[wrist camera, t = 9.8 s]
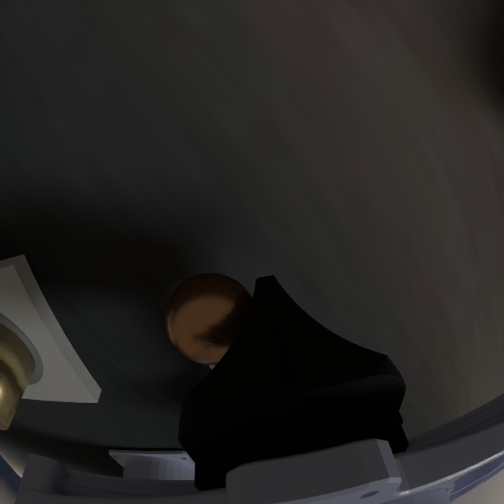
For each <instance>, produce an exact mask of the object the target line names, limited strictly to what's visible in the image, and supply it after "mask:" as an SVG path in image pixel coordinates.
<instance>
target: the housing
mask: <svg viewBox="0 0 504 504" xmlns="http://www.w3.org/2000/svg"><path fill="white" fill-rule="evenodd" d="M35 368H36V364H35V360H34V357H33V355H32V353H31V351H30V350H29V348H28V347H27V345H26V344H25V343H24V342H23V341H22V340H21V338H20V337H19V336H18V335H17V334H15V333H14V332H13V331H12V330H11V329H9V328H8V327H6V326H5V325H3V324H1V323H0V430H7V429H8V428H9V426H10V423H11V421H12V419H13V416H14V414H15V412H16V409H17V407H18V405H19V403H20V400H21V398H22V396H23V394H24V392H25V390H26V388H27V385H28V383H29V381H30V379H31V377H32V375H33V373H34V371H35Z"/></svg>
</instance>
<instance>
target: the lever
mask: <svg viewBox="0 0 504 504" xmlns="http://www.w3.org/2000/svg"><path fill="white" fill-rule="evenodd" d="M251 301H252V297H251V295H250V293H249V292H248V291H247V290H246V289H245V287H244V286H243V285H242V284H240V283H239V282H238V281H236V280H235V279H233V278H231V277H229V276H226V275H223V274H219V273H202V274H198V275H195V276H192V277H190V278H188V279H186V280H185V281H184V282H182V283H181V284H180V285H179V286H178V287H177V288H176V289H175V290H174V291H173V293H172V294H171V296H170V298H169V300H168V303H167V306H166V310H165V327H166V331H167V334H168V337H169V339H170V341H171V343H172V344H173V346H174V347H175V348H176V349H177V350H178V351H179V353H181V354H182V355H183V356H184V357H186V358H188V359H189V360H191V361H193V362H196V363H199V364H203V365H209V366H210V368H211V370H212V369H213V368H214V366H215V365H216V364H217V363H218V362H219V361H220V359H221V358H222V357H223V356H224V354H225V353H226V351H227V350H228V348H229V347H230V345H231V344H232V342H233V341H234V339H235V337H236V336H237V334H238V332H239V330H240V328H241V326H242V324H243V322H244V320H245V317H246V315H247V313H248V310H249V307H250V304H251Z"/></svg>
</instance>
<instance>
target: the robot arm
mask: <svg viewBox="0 0 504 504" xmlns="http://www.w3.org/2000/svg"><path fill="white" fill-rule="evenodd" d="M405 390H406V385H405V382H404V380H403V378H402V376H401V374H400V372H399V371H398V369H397V368H396V367H395V365H394V364H393V363H392V361H391V360H390V359H389V357H388V356H387V355H384V354H381V353H378V352H375V351H372V350H369V349H366V348H363V347H361V346H359V345H356V344H354V343H352V342H349V341H347V340H346V339H344V338H342V337H340V336H338V335H336V334H335V333H333V332H331V331H330V330H328V329H327V328H325V327H324V326H322V325H321V324H320V323H318V322H317V321H316V320H314V319H313V318H312V317H311V316H309V315H308V314H307V313H306V312H305V311H304V310H303V309H302V308H301V307H300V306H298V305H297V304H296V302H295V301H294V300H293V299H292V298H291V297H290V296H289V295H288V294H287V293H286V291H285V290H284V289H283V288H282V286H281V285H280V284H279V282H278V281H277V279H276V277H274V275H271V276H266V277H260V278H257V280H256V284H255V290H254V294H253V298H252V301H251V304H250V307H249V310H248V313H247V315H246V317H245V320H244V322H243V324H242V326H241V328H240V330H239V332H238V334H237V336H236V337H235V339H234V341H233V342H232V344H231V345H230V347H229V348H228V350H227V351H226V353H225V354H224V356H223V357H222V358H221V359H220V361H219V362H218V363H217V364H216V365H215V366H214V368H213V369H212V370H211V371H210V372H209V373H208V374H207V375H206V376H205V377H204V378H203V379H202V380H201V381H200V382H199V383H198V384H197V385H196V386H195V387H193V388H192V389H191V390H190V391H189V392H187V394H186V396H185V400H184V403H183V406H182V411H181V415H180V421H179V435H178V440H179V442H180V444H181V446H182V447H183V449H184V450H185V451H186V452H185V451H134V450H114V449H110V450H109V455H110V456H112V457H113V458H114V459H115V460H116V461H117V462H118V463H119V464H120V465H121V466H123V467H124V471H123V477H113V476H105V475H97V474H90V473H84V472H78V471H72V470H67V469H66V467H64V466H63V465H62V464H61V463H60V462H58V461H56V460H54V459H52V458H49V457H44V456H39V455H35V454H29V457H28V460H27V463H26V466H25V470H24V473H23V476H22V480H21V483H20V487H19V491H18V494H17V498H16V502H15V504H451V501H453V500H455V499H457V498H458V497H460V496H462V495H464V494H465V493H467V492H469V491H470V490H472V489H474V488H475V487H477V486H479V485H480V484H482V483H483V482H485V481H486V480H488V479H489V478H491V477H492V476H494V475H495V474H497V473H498V472H500V471H501V470H503V469H504V394H502V395H500V396H499V397H497V398H495V399H493V400H492V401H490V402H488V403H486V404H484V405H482V406H481V407H479V408H477V409H475V410H473V411H471V412H469V413H467V414H465V415H463V416H461V417H459V418H457V419H455V420H453V421H450V422H448V423H446V424H444V425H442V426H439V427H437V428H435V429H432V430H430V431H427V432H425V433H423V434H420V435H418V436H415V437H412V438H410V439H407V438H406V436H405V433H404V431H403V428H402V426H401V425H402V423H403V420H402V417H401V415H400V413H399V409H400V406H401V404H402V401H403V398H404V395H405Z"/></svg>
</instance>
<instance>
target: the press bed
mask: <svg viewBox="0 0 504 504" xmlns="http://www.w3.org/2000/svg"><path fill="white" fill-rule="evenodd" d="M0 323H1V324H3V325H5V326H6V327H8V328H9V329H11V330H12V331H13V332H14V333H15V334H17V335H18V336H19V337H20V338H21V340H22V341H23V342H24V343H25V344H26V345H27V347H28V348H29V350H30V351H31V353H32V355H33V357H34V360H35V364H36V368H35V371H34V373H33V375H32V377H31V379H30V381H29V383H28V385H27V388H26V390H25V392H24V394H23V396H22V398H25V399H35V400H47V401H62V402H86V403H98V400H99V396H100V393H101V389H100V387H99V386H98V384H97V383H96V382H95V380H94V379H93V377H92V376H91V374H90V373H89V372H88V370H87V369H86V367H85V366H84V364H83V363H82V361H81V359H80V358H79V356H78V355H77V353H76V352H75V350H74V348H73V347H72V345H71V344H70V342H69V340H68V339H67V337H66V335H65V334H64V332H63V330H62V329H61V327H60V325H59V323H58V322H57V320H56V318H55V316H54V314H53V313H52V311H51V309H50V307H49V305H48V303H47V301H46V299H45V297H44V295H43V294H42V292H41V290H40V288H39V285H38V283H37V281H36V279H35V277H34V275H33V273H32V271H31V269H30V266H29V264H28V262H27V260H26V257H25V255H24V254H23V255H19V256H16V257H12V258H8V259H5V260H1V261H0Z"/></svg>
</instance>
